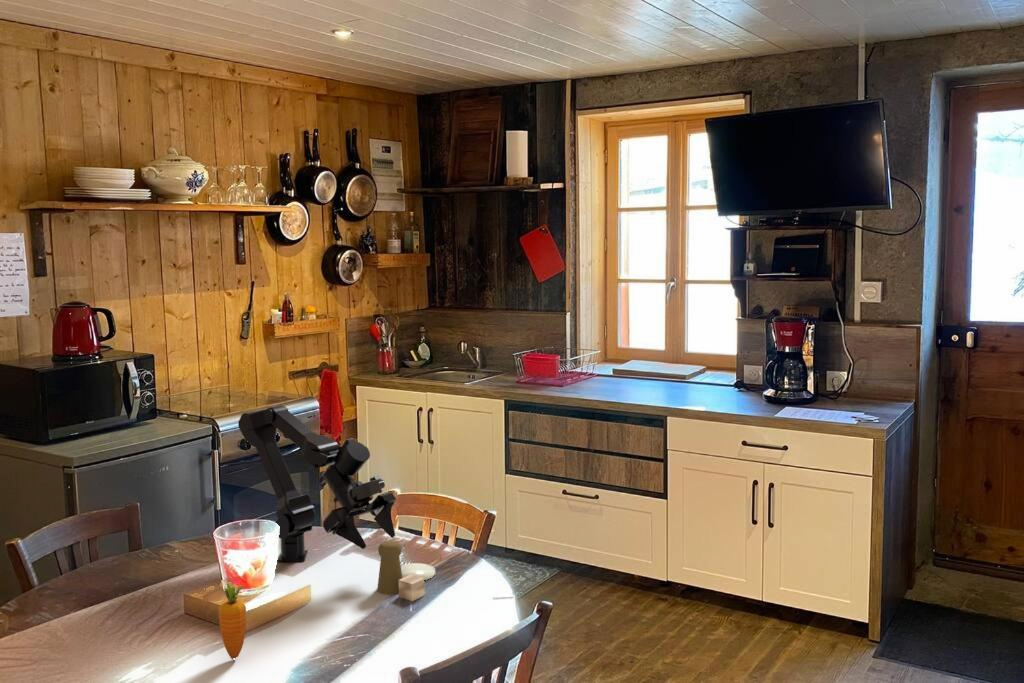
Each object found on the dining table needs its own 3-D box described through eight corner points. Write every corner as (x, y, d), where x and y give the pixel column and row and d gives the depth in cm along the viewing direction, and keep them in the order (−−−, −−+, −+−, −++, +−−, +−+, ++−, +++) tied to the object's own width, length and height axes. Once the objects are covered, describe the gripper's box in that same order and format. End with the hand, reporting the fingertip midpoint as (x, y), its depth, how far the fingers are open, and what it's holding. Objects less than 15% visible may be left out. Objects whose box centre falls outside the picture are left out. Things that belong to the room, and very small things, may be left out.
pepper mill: (406, 584, 205) (406, 537, 204) (400, 594, 199) (400, 547, 198) (380, 583, 206) (379, 537, 204) (374, 593, 200) (373, 546, 198)
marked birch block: (398, 597, 198) (398, 579, 198) (410, 591, 201) (410, 574, 201) (412, 601, 196) (412, 584, 195) (424, 595, 199) (424, 578, 198)
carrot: (223, 654, 171) (220, 578, 169) (250, 653, 171) (247, 577, 170) (217, 666, 166) (214, 589, 164) (245, 665, 166) (242, 588, 165)
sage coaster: (393, 567, 216) (393, 564, 216) (435, 565, 217) (435, 562, 217) (391, 583, 206) (391, 579, 206) (435, 581, 207) (435, 578, 207)
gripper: (330, 475, 197) (366, 533, 192) (389, 458, 212) (425, 511, 207) (307, 504, 203) (342, 561, 197) (367, 485, 217) (401, 538, 212)
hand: (379, 542), depth 203 cm, fingers open, 9 cm apart
